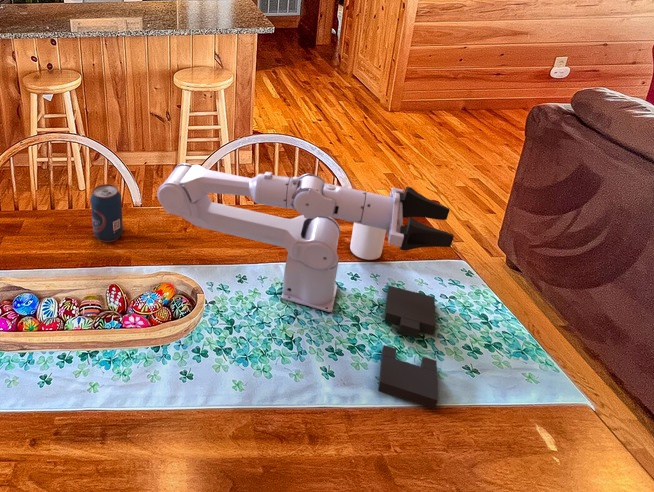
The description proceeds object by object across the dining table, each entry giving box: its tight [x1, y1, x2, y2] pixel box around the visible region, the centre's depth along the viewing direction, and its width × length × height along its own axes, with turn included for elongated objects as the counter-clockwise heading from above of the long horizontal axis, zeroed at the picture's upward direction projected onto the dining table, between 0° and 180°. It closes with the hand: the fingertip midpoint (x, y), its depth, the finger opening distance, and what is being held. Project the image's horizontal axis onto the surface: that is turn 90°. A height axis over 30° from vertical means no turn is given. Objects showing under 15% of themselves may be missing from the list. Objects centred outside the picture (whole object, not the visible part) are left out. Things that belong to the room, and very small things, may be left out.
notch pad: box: [377, 344, 439, 410], centre depth 81 cm, size 8×8×2 cm
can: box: [349, 222, 387, 261], centre depth 109 cm, size 6×6×12 cm
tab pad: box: [384, 285, 436, 339], centre depth 93 cm, size 8×10×2 cm
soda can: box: [90, 183, 124, 243], centre depth 116 cm, size 7×7×12 cm
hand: (449, 227), depth 84 cm, fingers open, 7 cm apart
